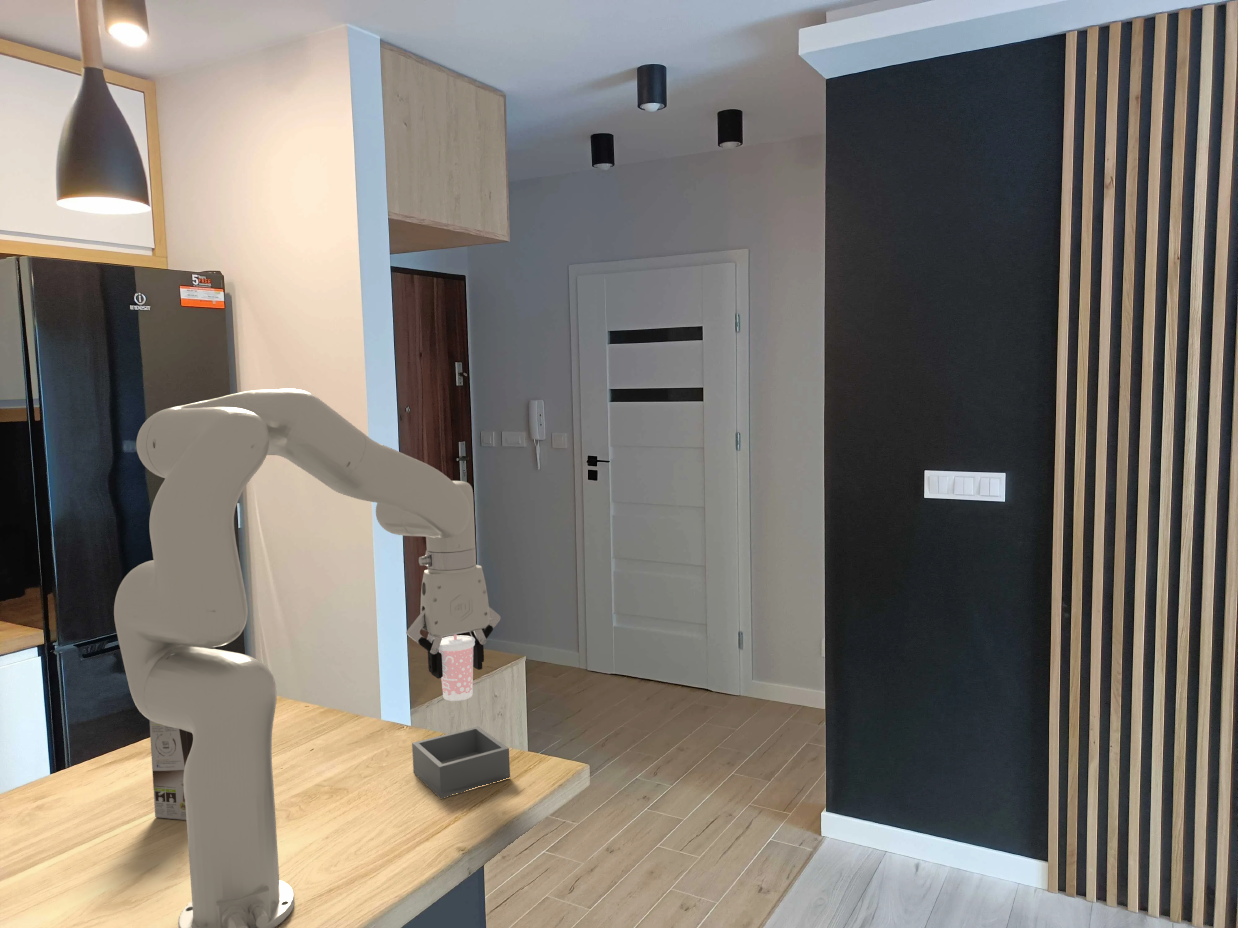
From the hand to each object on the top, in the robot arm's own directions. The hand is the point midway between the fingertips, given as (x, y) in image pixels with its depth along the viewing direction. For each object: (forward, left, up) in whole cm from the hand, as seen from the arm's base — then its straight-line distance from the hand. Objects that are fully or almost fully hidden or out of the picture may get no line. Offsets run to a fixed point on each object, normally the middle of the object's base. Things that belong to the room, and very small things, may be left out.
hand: (456, 670), depth 140 cm
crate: (0, 0, -17) cm, 17 cm away
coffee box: (+15, +37, -17) cm, 44 cm away
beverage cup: (0, 0, -4) cm, 4 cm away
